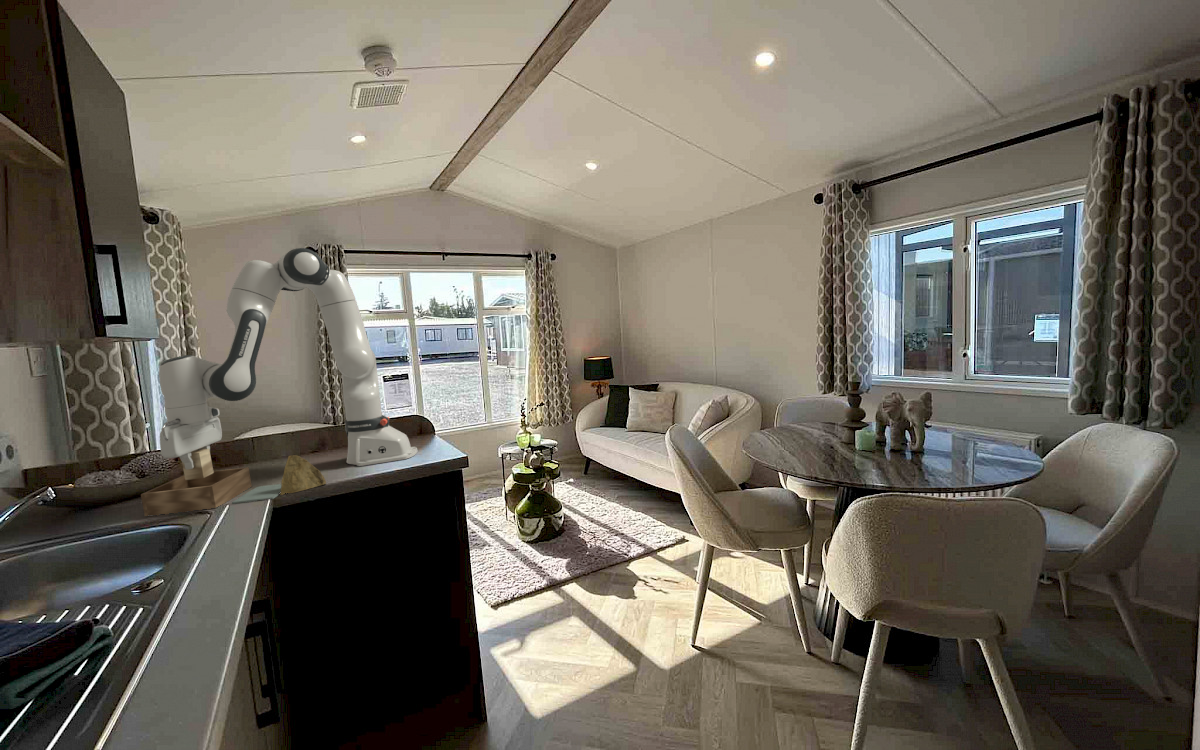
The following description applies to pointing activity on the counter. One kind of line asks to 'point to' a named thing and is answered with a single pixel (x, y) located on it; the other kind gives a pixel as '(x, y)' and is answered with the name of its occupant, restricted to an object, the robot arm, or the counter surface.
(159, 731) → the counter surface
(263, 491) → the mat
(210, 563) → the counter surface
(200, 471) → the block
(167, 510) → the crate
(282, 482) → the rock
